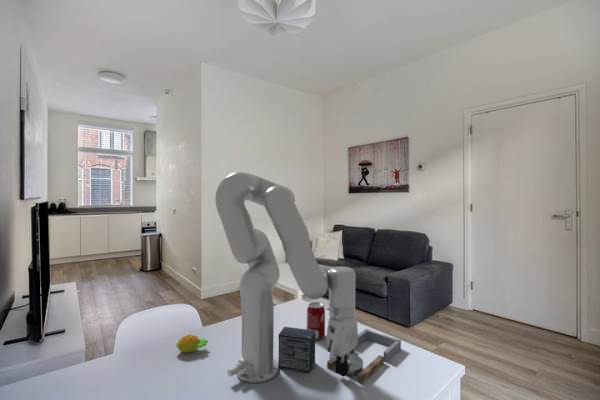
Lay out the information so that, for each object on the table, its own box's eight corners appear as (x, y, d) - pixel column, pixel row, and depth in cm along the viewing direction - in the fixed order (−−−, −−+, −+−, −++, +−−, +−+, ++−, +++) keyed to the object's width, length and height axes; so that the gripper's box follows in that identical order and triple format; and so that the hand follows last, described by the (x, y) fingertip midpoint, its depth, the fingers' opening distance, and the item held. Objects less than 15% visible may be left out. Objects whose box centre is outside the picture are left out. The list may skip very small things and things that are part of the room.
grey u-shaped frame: (387, 362, 95) (387, 353, 95) (350, 348, 104) (350, 339, 104) (400, 348, 104) (400, 340, 104) (365, 336, 112) (365, 328, 112)
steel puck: (357, 380, 86) (357, 369, 86) (335, 371, 90) (335, 361, 90) (365, 368, 92) (366, 358, 92) (344, 360, 96) (345, 351, 96)
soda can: (318, 342, 107) (318, 309, 107) (303, 337, 111) (303, 305, 111) (328, 335, 113) (328, 304, 113) (313, 330, 117) (313, 300, 117)
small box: (315, 362, 95) (316, 329, 95) (311, 374, 89) (311, 339, 88) (284, 357, 98) (284, 325, 98) (277, 368, 91) (277, 334, 91)
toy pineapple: (179, 346, 104) (180, 331, 104) (209, 345, 105) (209, 330, 105) (173, 357, 97) (173, 340, 97) (204, 356, 98) (205, 339, 98)
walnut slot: (362, 384, 84) (362, 377, 84) (327, 367, 92) (327, 361, 92) (383, 363, 95) (383, 356, 95) (350, 350, 102) (350, 344, 102)
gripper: (338, 322, 78) (338, 391, 79) (366, 306, 90) (365, 367, 90) (315, 314, 83) (315, 380, 83) (344, 300, 94) (344, 358, 95)
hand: (341, 373), depth 87 cm, fingers closed
